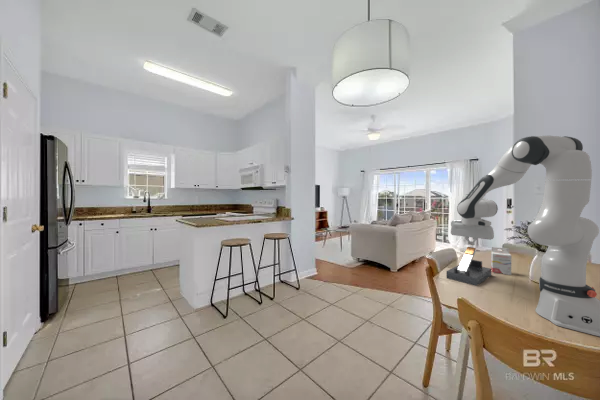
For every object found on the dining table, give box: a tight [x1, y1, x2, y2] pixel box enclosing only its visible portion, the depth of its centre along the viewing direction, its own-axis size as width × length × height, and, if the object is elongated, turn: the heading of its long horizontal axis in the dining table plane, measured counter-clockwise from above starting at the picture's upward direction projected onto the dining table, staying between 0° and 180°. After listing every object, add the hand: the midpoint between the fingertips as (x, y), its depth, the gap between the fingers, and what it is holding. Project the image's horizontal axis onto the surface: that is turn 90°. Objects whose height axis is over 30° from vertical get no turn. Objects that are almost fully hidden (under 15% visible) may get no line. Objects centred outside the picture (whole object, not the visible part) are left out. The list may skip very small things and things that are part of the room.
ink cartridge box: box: [490, 246, 512, 276], centre depth 133 cm, size 9×5×15 cm, turn 58°
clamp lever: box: [457, 246, 477, 274], centre depth 126 cm, size 4×19×2 cm
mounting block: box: [446, 259, 492, 287], centre depth 128 cm, size 14×24×8 cm, turn 125°
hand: (471, 244), depth 130 cm, fingers closed
